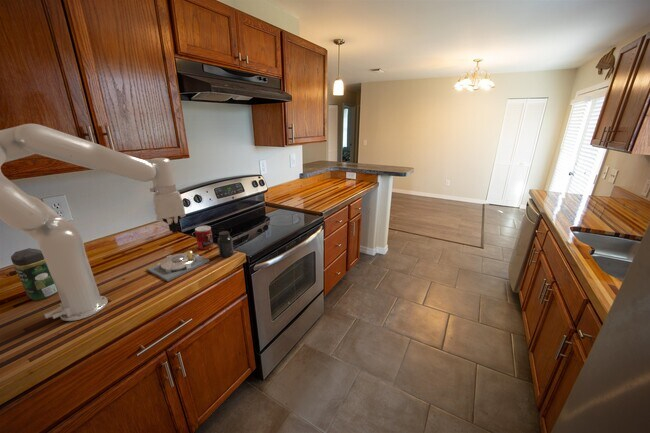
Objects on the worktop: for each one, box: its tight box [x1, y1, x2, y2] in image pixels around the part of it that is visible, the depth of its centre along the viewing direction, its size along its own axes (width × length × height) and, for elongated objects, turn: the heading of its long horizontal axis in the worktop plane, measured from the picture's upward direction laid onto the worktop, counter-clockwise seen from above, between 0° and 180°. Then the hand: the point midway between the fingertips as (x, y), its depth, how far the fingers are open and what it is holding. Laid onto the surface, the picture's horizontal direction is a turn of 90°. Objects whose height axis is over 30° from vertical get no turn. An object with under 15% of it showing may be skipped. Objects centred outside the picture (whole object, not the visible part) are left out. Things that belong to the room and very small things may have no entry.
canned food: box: [194, 225, 214, 251], centre depth 139 cm, size 8×8×11 cm
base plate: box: [146, 252, 211, 282], centre depth 121 cm, size 20×17×1 cm
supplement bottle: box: [217, 230, 235, 258], centre depth 130 cm, size 7×7×12 cm
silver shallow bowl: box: [157, 249, 198, 273], centre depth 120 cm, size 15×16×6 cm
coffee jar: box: [10, 247, 58, 301], centre depth 98 cm, size 10×8×19 cm
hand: (174, 231), depth 111 cm, fingers closed
